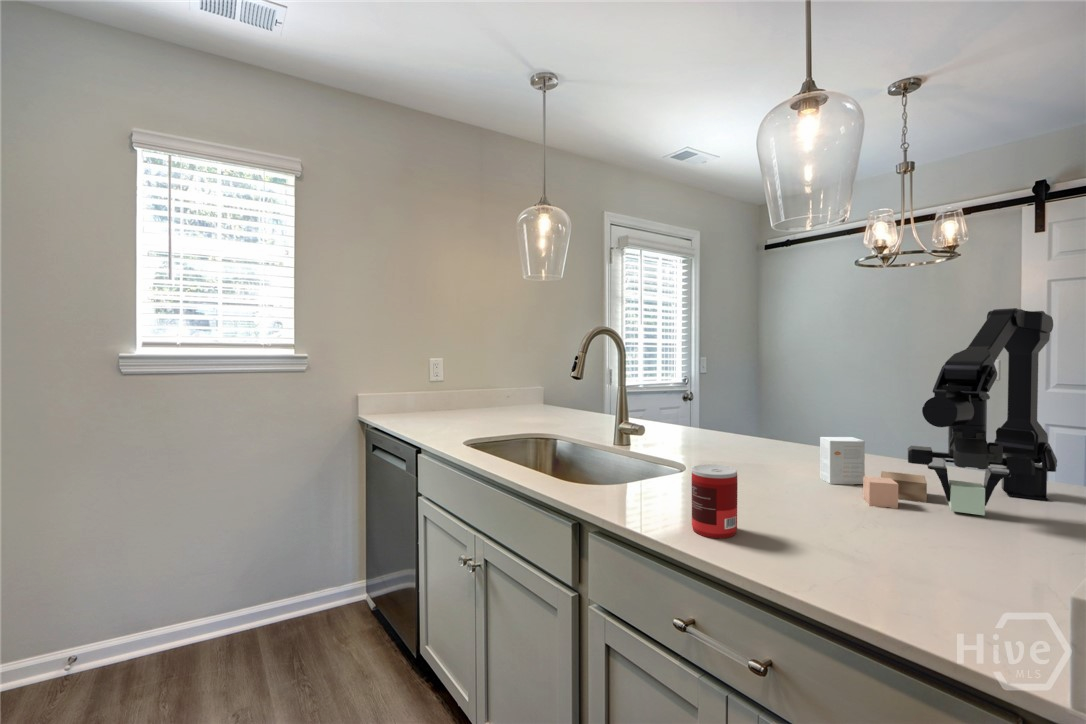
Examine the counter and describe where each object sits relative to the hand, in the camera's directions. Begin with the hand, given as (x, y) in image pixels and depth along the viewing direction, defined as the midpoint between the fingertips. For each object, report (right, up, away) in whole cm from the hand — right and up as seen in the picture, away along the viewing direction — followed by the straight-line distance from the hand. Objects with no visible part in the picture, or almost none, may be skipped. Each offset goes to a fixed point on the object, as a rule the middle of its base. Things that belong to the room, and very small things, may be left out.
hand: (966, 503), depth 100 cm
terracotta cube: (-13, -2, +6) cm, 14 cm away
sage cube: (0, -1, 0) cm, 1 cm away
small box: (-10, -2, +24) cm, 26 cm away
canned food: (-52, -3, -9) cm, 53 cm away
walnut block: (-4, -2, +12) cm, 13 cm away
